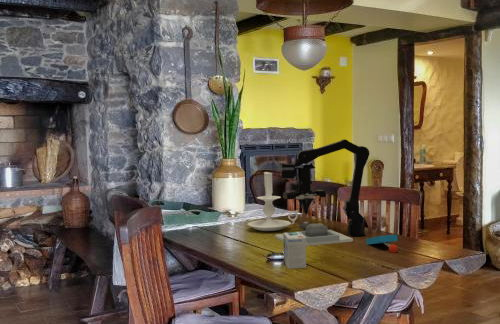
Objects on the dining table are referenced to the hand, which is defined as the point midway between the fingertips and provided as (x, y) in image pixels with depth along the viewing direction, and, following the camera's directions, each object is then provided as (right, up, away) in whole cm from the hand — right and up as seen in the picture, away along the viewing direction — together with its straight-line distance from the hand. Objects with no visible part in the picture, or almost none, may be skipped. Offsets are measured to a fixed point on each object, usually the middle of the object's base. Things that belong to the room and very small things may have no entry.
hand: (305, 213), depth 244 cm
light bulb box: (-8, -14, -49) cm, 51 cm away
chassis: (+3, -10, -7) cm, 13 cm away
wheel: (0, -6, 0) cm, 7 cm away
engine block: (+4, -9, -10) cm, 15 cm away
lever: (+29, -12, -26) cm, 41 cm away
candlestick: (-13, -10, +18) cm, 24 cm away
